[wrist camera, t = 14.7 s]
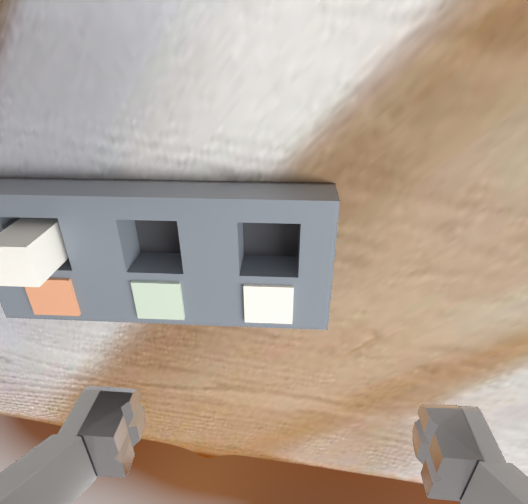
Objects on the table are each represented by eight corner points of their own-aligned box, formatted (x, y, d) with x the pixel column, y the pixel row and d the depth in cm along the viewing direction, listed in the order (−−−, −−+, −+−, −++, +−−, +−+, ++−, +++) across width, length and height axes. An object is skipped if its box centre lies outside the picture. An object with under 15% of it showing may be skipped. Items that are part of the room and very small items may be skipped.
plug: (34, 208, 40) (-21, 246, 33) (72, 209, 40) (26, 247, 33) (45, 243, 42) (-4, 285, 35) (82, 244, 42) (39, 287, 35)
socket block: (-11, 177, 39) (-48, 195, 35) (334, 183, 37) (340, 202, 33) (30, 293, 46) (4, 319, 42) (324, 303, 44) (327, 332, 40)
